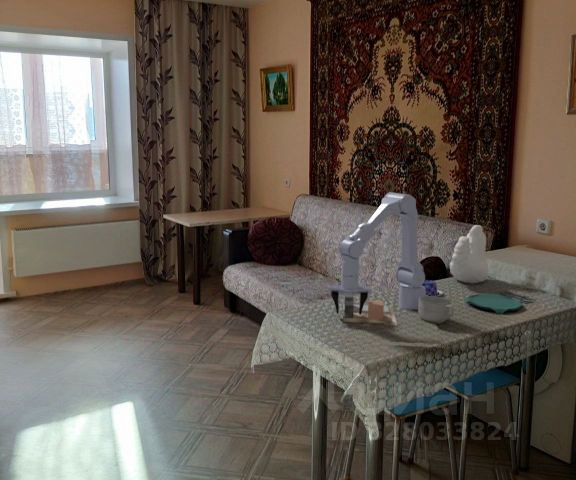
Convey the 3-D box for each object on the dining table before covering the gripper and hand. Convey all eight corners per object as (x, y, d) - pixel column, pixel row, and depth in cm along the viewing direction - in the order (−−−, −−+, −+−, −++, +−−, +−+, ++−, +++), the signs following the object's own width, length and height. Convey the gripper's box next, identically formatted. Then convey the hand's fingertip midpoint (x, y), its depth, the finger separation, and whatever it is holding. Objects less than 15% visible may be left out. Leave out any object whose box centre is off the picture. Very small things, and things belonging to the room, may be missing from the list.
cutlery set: (455, 303, 221) (455, 297, 221) (502, 292, 239) (502, 287, 238) (501, 318, 206) (501, 311, 205) (547, 305, 223) (548, 299, 223)
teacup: (411, 318, 204) (412, 296, 202) (437, 314, 207) (438, 293, 206) (434, 330, 191) (436, 307, 189) (462, 327, 195) (463, 304, 193)
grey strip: (387, 308, 211) (387, 294, 210) (388, 314, 204) (389, 299, 203) (343, 306, 212) (343, 292, 211) (343, 312, 205) (343, 297, 204)
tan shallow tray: (389, 317, 201) (389, 302, 200) (390, 323, 194) (391, 308, 193) (343, 315, 202) (343, 300, 201) (342, 321, 196) (343, 306, 195)
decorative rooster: (466, 274, 266) (470, 221, 262) (496, 281, 254) (500, 225, 249) (430, 282, 252) (433, 226, 247) (460, 290, 239) (464, 231, 235)
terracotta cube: (382, 314, 200) (382, 300, 199) (383, 319, 195) (383, 305, 194) (367, 314, 200) (368, 300, 200) (368, 318, 196) (368, 304, 195)
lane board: (392, 310, 212) (392, 307, 212) (396, 328, 193) (397, 325, 192) (343, 308, 214) (343, 305, 214) (342, 326, 194) (342, 323, 194)
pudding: (411, 296, 231) (411, 283, 230) (414, 288, 242) (414, 276, 242) (442, 299, 228) (442, 286, 227) (443, 291, 239) (444, 279, 238)
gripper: (328, 276, 193) (327, 315, 195) (372, 278, 191) (370, 317, 194) (328, 271, 200) (328, 309, 202) (371, 273, 198) (369, 311, 201)
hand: (348, 313), depth 198 cm, fingers open, 7 cm apart
